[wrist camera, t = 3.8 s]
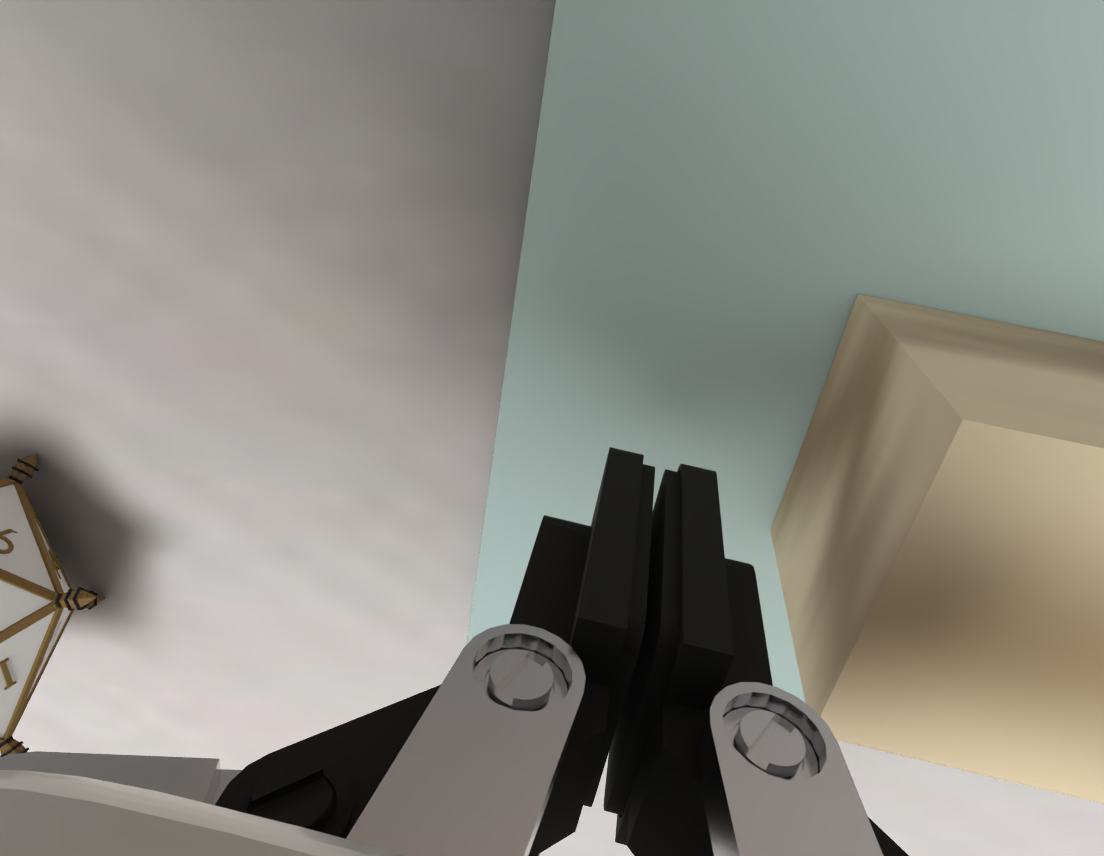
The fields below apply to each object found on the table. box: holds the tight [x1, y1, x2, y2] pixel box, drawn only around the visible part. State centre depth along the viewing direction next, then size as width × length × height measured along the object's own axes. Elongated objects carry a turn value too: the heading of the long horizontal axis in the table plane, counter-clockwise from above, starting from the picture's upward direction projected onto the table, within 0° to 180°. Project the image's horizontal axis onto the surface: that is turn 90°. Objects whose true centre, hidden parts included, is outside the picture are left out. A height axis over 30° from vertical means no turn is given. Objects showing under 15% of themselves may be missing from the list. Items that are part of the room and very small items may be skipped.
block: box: [770, 294, 1104, 804], centre depth 13 cm, size 6×6×6 cm
